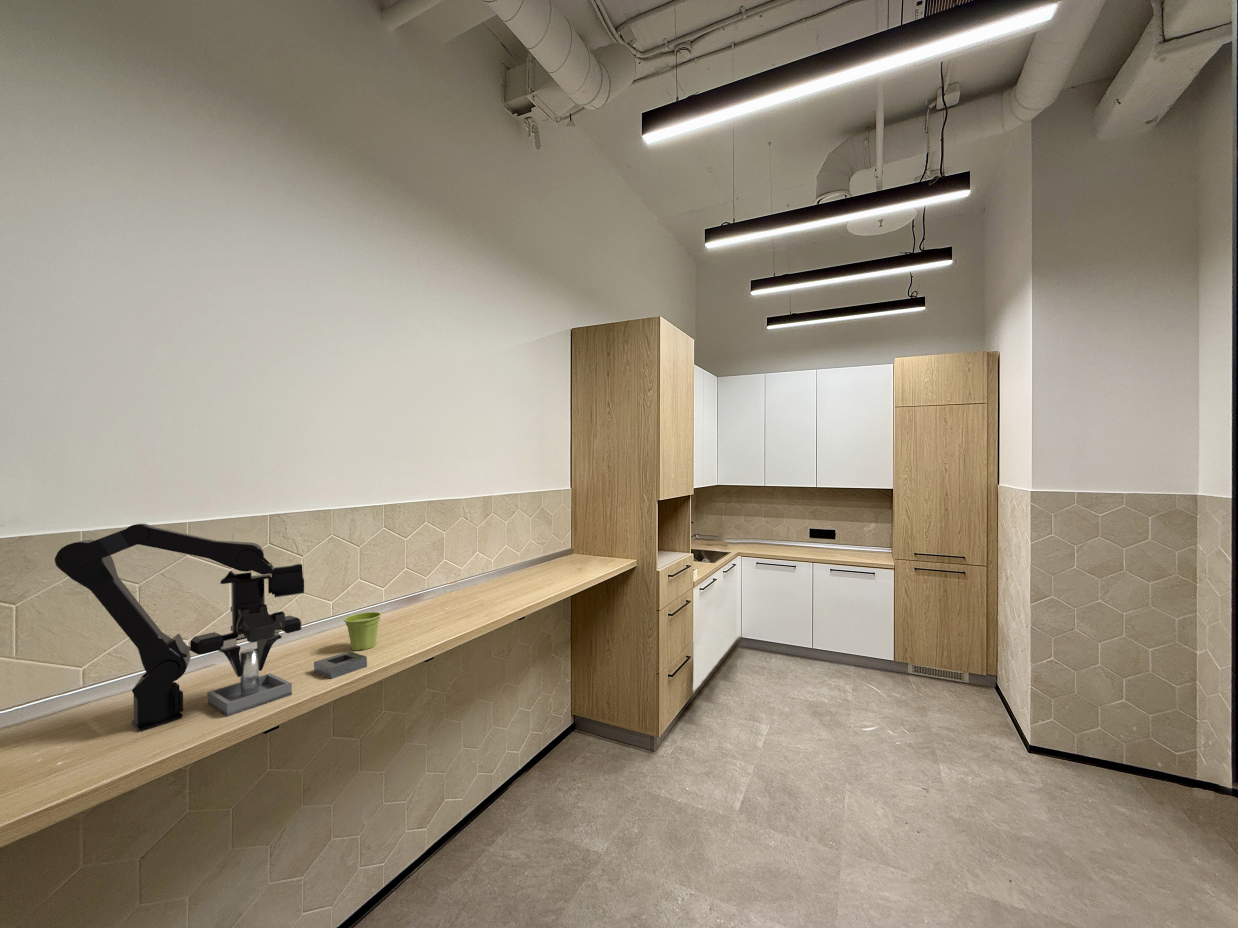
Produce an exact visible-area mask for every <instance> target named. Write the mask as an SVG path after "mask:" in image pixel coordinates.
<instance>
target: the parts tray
mask: <svg viewBox="0 0 1238 928" xmlns="http://www.w3.org/2000/svg"><path fill="white" fill-rule="evenodd" d="M292 684H293V683H292V682H290V681H288V680H286V679H284V678H282V677H279V676H276V675H274V674H272V673H271V672H269V673H266V674H265V673H264V674H263V675H259V692H257V693H255V694H252V695H248V696H241V683H240V681H238V682H236V683H233V684H228V685H226V686H223V687H219V688H216V689H212V690H210V691H207V692H206V695H207V701H206V702H207V705H209V706H211V708H213V709H215V710H217V711H218V712H220V713H221V714H223V715H224V716H226V717H231V716H233V715H235V714H239V713H241V712H245V711H248V710H250V709H253V708H256V707H260V706H263V705H265V704H268V702H269V703H272V702H275V701H277V700H280V699H282V698H286V697H288V696H292V695H293V690H292V689H293V688H292V687H293V686H292Z"/></svg>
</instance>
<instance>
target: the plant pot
mask: <svg viewBox="0 0 1238 928" xmlns="http://www.w3.org/2000/svg"><path fill="white" fill-rule="evenodd" d="M381 616H382V613H381V612H378V611H368V612H360V613H355V614H352V615H350V616H347V617H345V618H343V622H344V623H345V625H346V627H347V632H348V638H349V642H350V648H351V651H360V650H362V651H363V650H364V651H365V650H369V649H372V648H373V647H375V646H376V644H377V639H378V638H377V636H378V628H379V622H380V618H381Z"/></svg>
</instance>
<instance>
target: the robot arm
mask: <svg viewBox="0 0 1238 928" xmlns="http://www.w3.org/2000/svg"><path fill="white" fill-rule="evenodd" d="M138 545H139V546H145V547H151V548H156V549H160V550H164V551H170V552H176V553H180V554H186V555H190V556H194V557H201V558H206V559H209V560H211V561H213V562H216V563H219V564H221V565H223V566H226V567H228V568H231V569H234V570H237V571H239V572H242V573H235V572H233V571H232V570H229V571H228V573H227V574H226V576H224V577H223V578H222V579H221V580H220V582H219V583H220V584H221V585H225V584H227V585H228V584H231V606H230V610H229V611H230V612H231V619H232V620H231V623H232V624H231V625H230V632H229V633H225V634H220V633H217V632H215V631H213V632H208V633H205V634H204V633H203V634H199V635H194V636H193V637H192V639H191V640H190V642H189V645H187V643H185V642H184V640H183V637H182V636H181V634H180V633H177V634H176V635H175V636H173V637H171V636H169V635H167V634H166V633H164V632H163V631H161V629H160V628H159V626H158V625H157V624H156V623H155V621H154V620H153V619H152V618H151V617H150V615H149V614H148V613H147V611H146V610H145V609H144V608H143V606H142V605H141V604H140V602H139V601H138V600H137V598H135V596H134V595H133V594H132V592H131V591H130V590H129V589H128V587H127V586H126V585H125V584H124V582H123V581H122V580H121V578H119V575H118V572H117V569H116V565H115V562H114V559H113V557H112V555H116V554H117V553H119V552H122V551H124V550H127V549H130V548H132V547H134V546H135V547H136V546H138ZM54 564H55V566H56V568H57V569H59V570H60V572H62V573H64V575H66V576H67V577H69V578H70V579H72V580H73V581H74V582H76V583H77V584H79V585H80V586H83V587H84V588H87V589H88V590H89V591H91V593H92V594H93V595H94V597H95V598H96V599H97V600H98V602H100V604H101V605H102V607H103V608H104V609H105V610H106V611H107V613H109V615H110V616H111V618H113V620H114V621H115V622H116V623H117V625H118V626H119V627H120V628H121V630H122V631H123V632H124V633H125V634H126V636H127V637H128V638H129V639H130V641H131V642H132V643H133V644H134V646H135V647H136V648H137V651H138V654H139V658H140V661H141V664H142V666H143V667H142V668H144V672H145V673H143V675H141V677H140V678H139V679H138V681H137V682H136V684H135V686H134V687H133V688H132V689H131V690H132V691H131V692H132V694H133V719H132V720H131V721H130V724H131V725H132V726H133V727H134V728H135V729H136V730H137V731H138V732H139V731H144V730H147V729H150V728H153V727H157V726H160V725H163V724H166V723H168V722H173V721H175V720H178V719H181V718H183V712H184V691H183V690H182V689H181V688H180V684H178V683H177V682H176V681H178V680H179V679H180V678H181V677H183V675H185V673H186V671H187V668H188V666H189V664H190V661H191V659H192V658H191V653H190V651H191V652H192V653H193V654H196V655H205V654H210V653H213V652H214V653H215V652H217V651H218V652H221V653H223V654H224V655H225V657H226V659H228V663H229V664H230V666H231V668H232V669H233V672H234V673H235V676H236V677H238V678H239V677H240V676H241V664H240V652H241V651H240V650H241V648H242V647H241V646H240V645H238V644H237V643H238V641H241V640H245V639H246V641H247V642H248V643H256V648H258V653H259V672H261V671H263V668H264V666H265V663H266V662H267V661H266V660H267V658H268V655H269V653H270V651H271V648H272V647H273V645H274V644H275V642H277V640H280V639H282V638H283V635H281V634H280V632H281V631H283V632H284V633H286V634H291V633H294V632H299V631H301V630H302V621H301V619H300V618H299V617H296V616H293V615H286V614H285V612H284V611H283V610H281V611H277V612H273V613H271V614H270V613H269V612H268V604H267V603H265V602H266V601H265V598H266V597H265V595H266V594H265V580H267V585H268V587H267V589H268V592H267V593H268V594H267V595H269V594H271V595H274V597H273V598H281V597H287V596H294V595H295V596H296V595H303V594H305V579H304V574H303V572H304V571H303V564H302V563H296V564H292V565H286V566H285V565H284V566H276V567H274V565H273V563H272V562H270V561H269V560H267V558H265V553H264V549H263V548H262V547H261V545H259V544H258V543H256V542H247V541H246V542H245V541H233V540H232V541H231V540H229V541H228V540H226V541H225V540H216V539H215V540H214V539H211V538H206V537H201V536H197V535H192V534H188V533H183V532H178V531H174V530H169V529H164V528H160V527H155V526H152V525H150V524H148V523H135V524H132V525H130V526H128V527H127V528H125V529H122V530H119V531H117V532H114V533H112V534H109V535H106V536H103V537H101V538H97V539H96V540H94V539H85V540H84V539H83V540H80V541H75V542H71V543H68V544H67V545H64V546H63V547H61V548H60V549H59V550H58V551H57V552H56V555H55V557H54ZM251 571H253V572H255V573H256V574H259V575H252V572H251Z"/></svg>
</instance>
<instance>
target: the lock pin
mask: <svg viewBox="0 0 1238 928" xmlns="http://www.w3.org/2000/svg"><path fill="white" fill-rule="evenodd" d="M239 655H240V664H241V676H240V678H239V679H240V681H239V682H240V683H241V696H248V695H252V694H255V693H257V692H259V676H260V674H259V673H260V671H259V653H258V648H257V647H256V648H254V647H253V648H248V649H245V650H242V651H240V652H239Z"/></svg>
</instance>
